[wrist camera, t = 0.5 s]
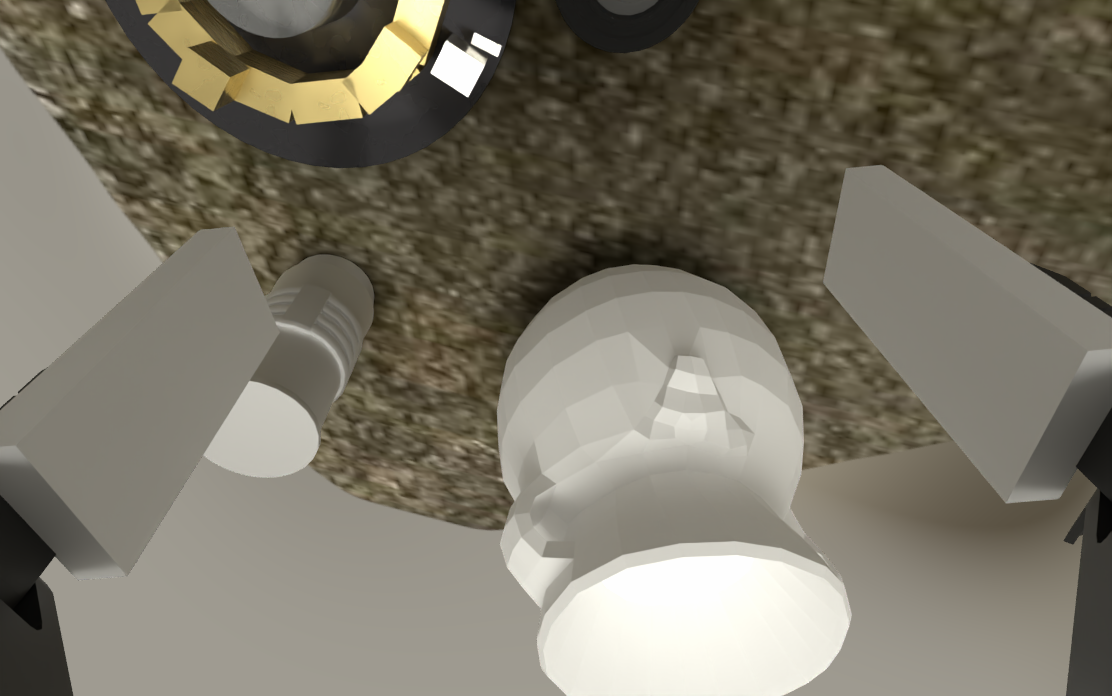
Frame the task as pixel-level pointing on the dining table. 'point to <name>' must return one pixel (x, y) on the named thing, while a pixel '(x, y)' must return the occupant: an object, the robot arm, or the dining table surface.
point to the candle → (298, 369)
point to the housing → (342, 44)
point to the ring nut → (279, 89)
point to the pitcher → (662, 494)
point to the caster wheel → (625, 21)
